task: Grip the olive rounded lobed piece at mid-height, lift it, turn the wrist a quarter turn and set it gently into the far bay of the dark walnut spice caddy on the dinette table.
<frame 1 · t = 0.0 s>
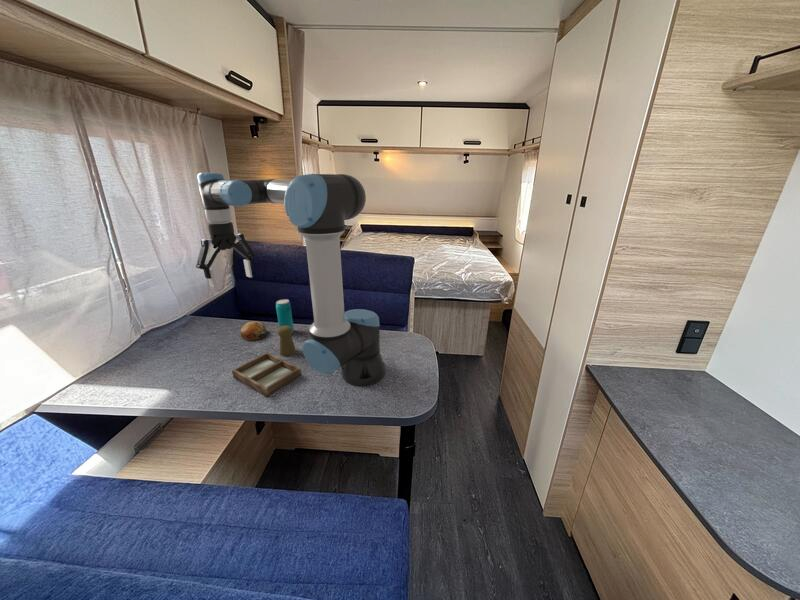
hand: (232, 281, 114), 28 cm above the table, fingers open, 13 cm apart
olive rounded lobed piece: (287, 352, 122), on the table
beverage can: (287, 333, 136), on the table
bread roll: (254, 336, 134), on the table
spice caddy: (267, 376, 107), on the table
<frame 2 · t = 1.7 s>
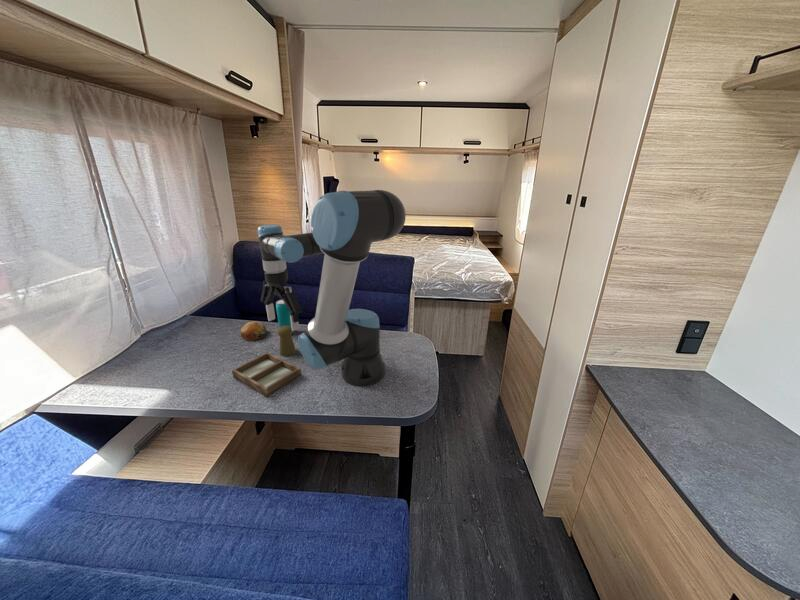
hand: (283, 324, 117), 12 cm above the table, fingers open, 13 cm apart
nothing on the table moved.
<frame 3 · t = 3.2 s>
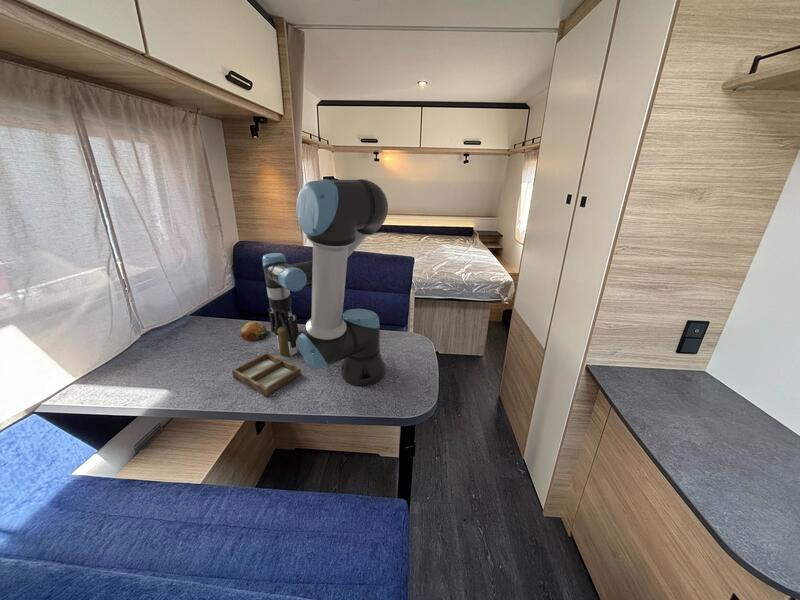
hand: (287, 351, 122), 0 cm above the table, fingers closed on olive rounded lobed piece, 6 cm apart
olive rounded lobed piece: (287, 352, 122), on the table, touching gripper
everything else where it was.
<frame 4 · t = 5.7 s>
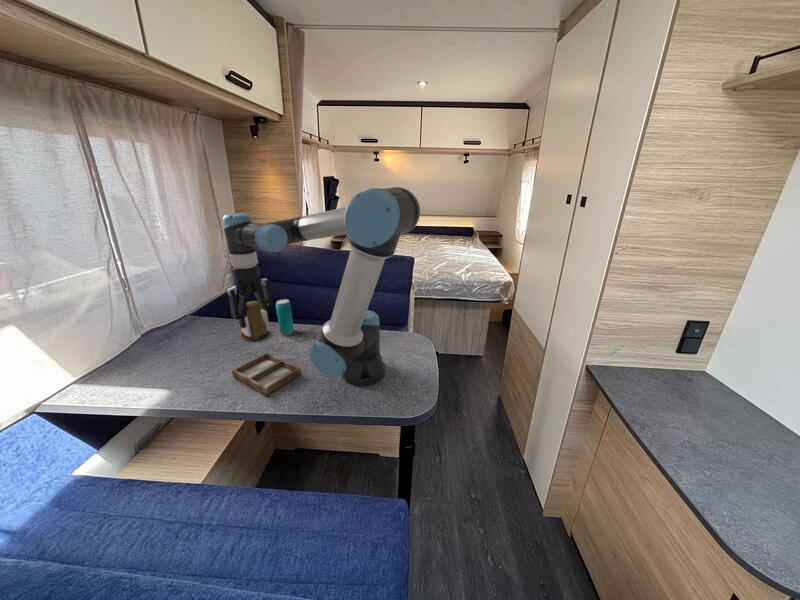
hand: (257, 331, 106), 15 cm above the table, fingers closed on olive rounded lobed piece, 6 cm apart
olive rounded lobed piece: (257, 332, 106), point 14 cm above the table, touching gripper
everything else where it was.
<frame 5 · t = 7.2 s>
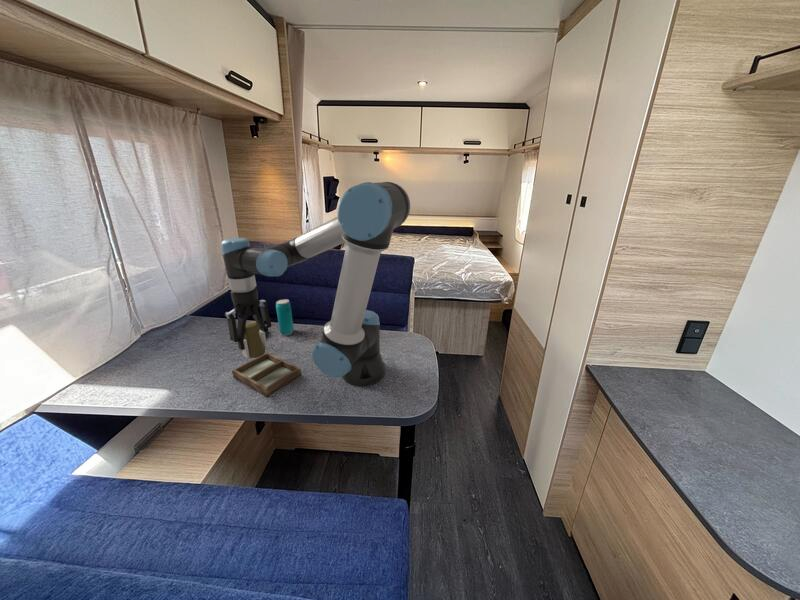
hand: (255, 352, 107), 8 cm above the table, fingers closed on olive rounded lobed piece, 6 cm apart
olive rounded lobed piece: (255, 353, 107), point 8 cm above the table, touching gripper
everything else where it was.
when the fingers open (3 cm above the table, at t = 8.5 s): olive rounded lobed piece drops 1 cm, resting on spice caddy.
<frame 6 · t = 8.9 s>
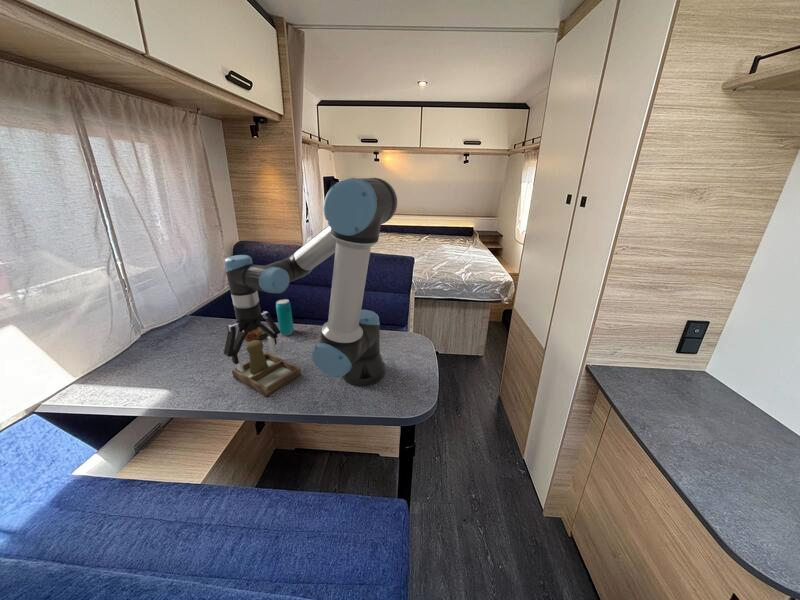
hand: (257, 361, 108), 4 cm above the table, fingers open, 12 cm apart
olive rounded lobed piece: (259, 370, 109), point 1 cm above the table, touching spice caddy
everything else where it was.
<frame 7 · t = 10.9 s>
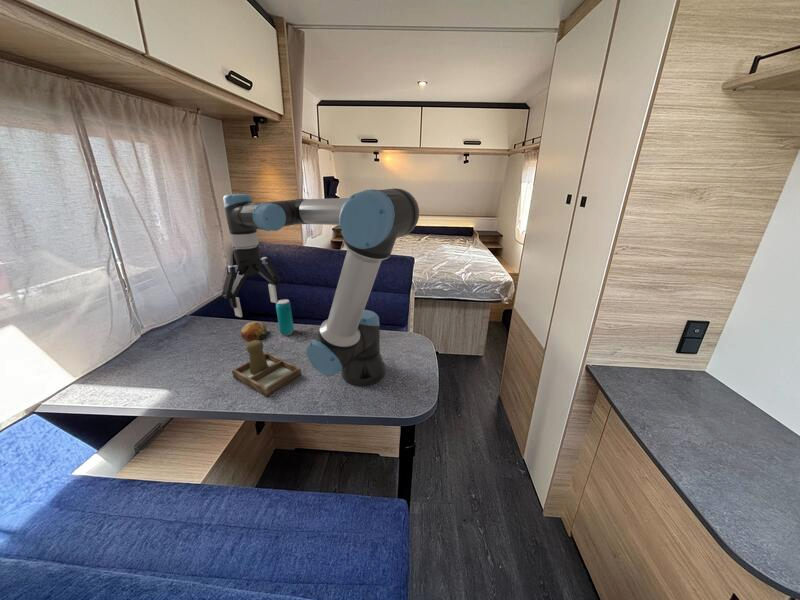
hand: (257, 308, 105), 22 cm above the table, fingers open, 13 cm apart
nothing on the table moved.
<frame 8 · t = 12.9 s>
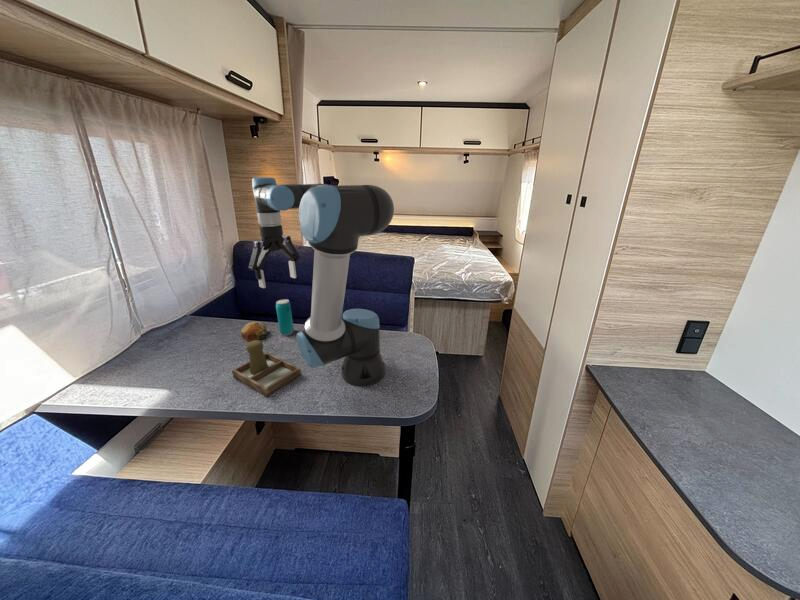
hand: (278, 282, 117), 27 cm above the table, fingers open, 13 cm apart
nothing on the table moved.
at the end: olive rounded lobed piece inside the target area on the spice caddy (0.0 cm from its centre), point 0.8 cm above the spice caddy's base; olive rounded lobed piece tilted 0°; the gripper is holding nothing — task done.
